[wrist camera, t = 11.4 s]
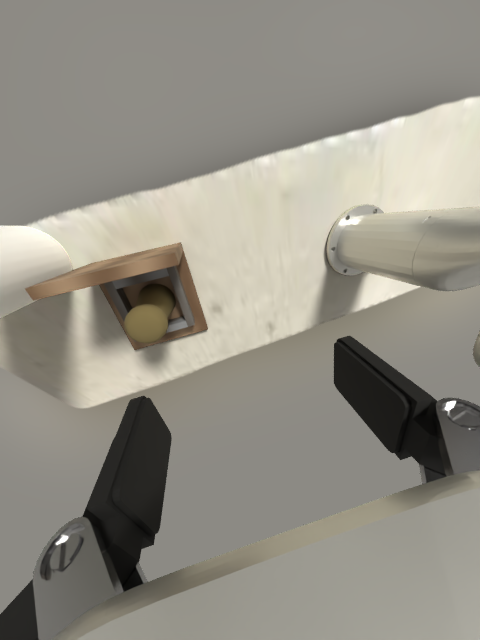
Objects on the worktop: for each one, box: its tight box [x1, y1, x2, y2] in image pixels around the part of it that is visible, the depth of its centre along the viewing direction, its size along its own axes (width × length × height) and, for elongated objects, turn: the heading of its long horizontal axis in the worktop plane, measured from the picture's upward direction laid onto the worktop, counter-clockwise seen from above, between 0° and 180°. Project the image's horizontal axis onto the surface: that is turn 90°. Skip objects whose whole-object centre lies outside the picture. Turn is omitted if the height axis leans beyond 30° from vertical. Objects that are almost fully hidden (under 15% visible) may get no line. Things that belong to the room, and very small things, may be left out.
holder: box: [25, 243, 208, 350], centre depth 29 cm, size 14×16×14 cm
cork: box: [124, 283, 176, 343], centre depth 30 cm, size 6×6×11 cm
